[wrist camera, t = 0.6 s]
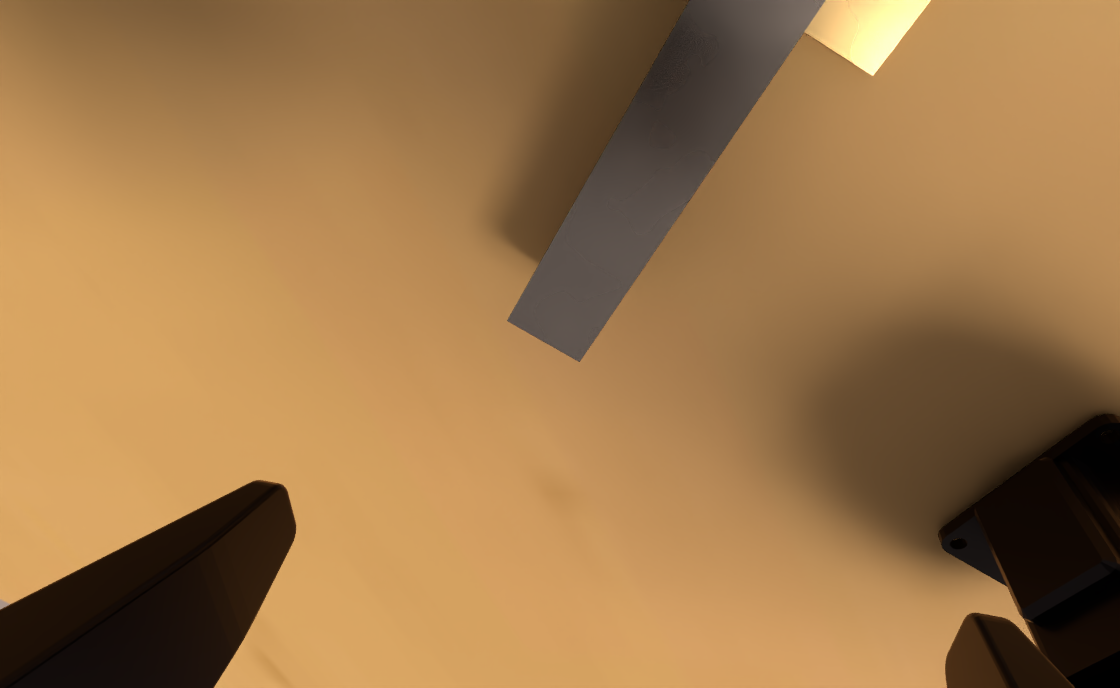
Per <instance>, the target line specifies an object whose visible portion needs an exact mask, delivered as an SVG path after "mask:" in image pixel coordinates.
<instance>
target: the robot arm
mask: <svg viewBox="0 0 1120 688" xmlns="http://www.w3.org/2000/svg"><path fill="white" fill-rule="evenodd" d="M1113 429H1114V430H1113ZM1107 430H1113V431H1112V432H1111V433H1109V434H1106V435H1101V434H1102V433H1103V432H1105V431H1107ZM295 534H296V522H295V518H294V514H293V511H292V507H291V503H290V499H289V495H288V492H287V489H286V488H285V487H284V486H283V485H282V484H279V483H274V482H268V481H263V480H256V481H253V482H251V483H248V484H246V485H245V486H243V487H241V488H239V489H237V490H235V491H233V492H231V493H229V494H227V495H225V496H223V497H221V498H219V499H217V500H215V501H213V502H211V503H209V504H207V505H205V506H203V507H201V508H199V509H197V510H195V511H193V512H191V513H189V514H187V515H185V516H184V517H182V518H180V519H178V520H176V521H174V522H172V523H170V524H168V525H166V526H164V527H162V528H160V529H158V530H156V531H154V532H152V533H150V534H148V535H146V536H144V537H142V538H140V539H138V540H136V541H134V542H132V543H130V544H128V545H126V546H124V547H123V548H121V549H119V550H117V551H115V552H113V553H111V554H109V555H107V556H105V557H103V558H101V559H99V560H97V561H95V562H93V563H91V564H89V565H87V566H85V567H83V568H81V569H79V570H77V571H75V572H73V573H71V574H69V575H67V576H65V577H63V578H61V579H60V580H58V581H56V582H54V583H52V584H50V585H48V586H46V587H44V588H42V589H40V590H38V591H36V592H34V593H32V594H30V595H28V596H26V597H24V598H22V599H20V600H18V601H16V602H14V603H12V604H10V605H8V606H7V607H4V608H3V609H1V610H0V688H214V687H215V685H216V683H217V682H218V680H219V679H220V677H221V675H222V674H223V672H224V671H225V669H226V667H227V666H228V664H229V663H230V661H231V659H232V658H233V656H234V655H235V653H236V651H237V650H238V648H239V646H240V645H241V643H242V641H243V640H244V638H245V636H246V634H247V632H248V630H249V629H250V627H251V625H252V623H253V621H254V619H255V617H256V615H257V613H258V611H259V609H260V607H261V605H262V603H263V601H264V599H265V597H266V595H267V593H268V591H269V589H270V587H271V585H272V583H273V581H274V579H275V577H276V575H277V573H278V571H279V569H280V567H281V565H282V563H283V561H284V559H285V557H286V555H287V553H288V551H289V549H290V547H291V545H292V543H293V541H294V538H295ZM938 537H939V540H940V542H941V545H942V548H943V549H944V550H945V551H946V552H948V553H949V554H951V555H953V556H955V557H956V558H958V559H960V560H962V561H963V562H965V563H967V564H969V565H970V566H972V567H974V568H976V569H977V570H979V571H981V572H983V573H984V574H986V575H988V576H990V577H991V578H993V579H995V580H997V581H998V582H1000V583H1002V584H1004V585H1005V586H1007V587H1008V589H1009V592H1010V594H1011V596H1012V598H1013V600H1014V603H1015V605H1016V607H1017V609H1018V611H1019V614H1020V615H1021V616H1022V617H1023V618H1024V620H1025V622H1026V625H1027V627H1028V629H1029V631H1030V633H1031V636H1032V638H1033V640H1034V642H1035V644H1036V646H1037V647H1036V646H1035V645H1034V644H1033V643H1032V642H1031V641H1030V640H1029V639H1028V638H1027V636H1026V635H1025V634H1024V633H1023V632H1022V631H1021V630H1020V629H1019V628H1018V627H1017V626H1016V625H1015V624H1014V623H1012V622H1011V621H1010V620H1008V619H1005V618H1002V617H996V616H991V615H986V614H980V613H971V614H969V615H967V616H966V618H965V619H964V621H963V623H962V625H961V627H960V629H959V631H958V633H957V635H956V637H955V639H954V641H953V643H952V646H951V648H950V650H949V652H948V654H947V658H946V664H945V675H946V683H947V688H1120V417H1119V416H1116V415H1114V414H1103V415H1099V416H1096V417H1094V418H1092V419H1090V420H1089V421H1087V422H1086V423H1085V424H1083V425H1082V426H1081V427H1079V428H1078V429H1076V430H1075V431H1074V432H1072V433H1071V434H1070V435H1068V436H1067V437H1066V438H1064V439H1063V440H1061V441H1060V442H1059V443H1057V444H1056V445H1055V446H1053V447H1052V448H1051V449H1049V450H1048V451H1046V452H1045V453H1044V454H1042V455H1041V456H1040V457H1038V458H1037V459H1035V460H1034V461H1033V462H1031V463H1030V464H1029V465H1027V466H1026V467H1025V468H1023V469H1022V470H1020V471H1019V472H1018V473H1016V474H1015V475H1014V476H1012V477H1011V478H1010V479H1008V480H1007V481H1005V482H1004V483H1003V484H1001V485H1000V486H999V487H997V488H996V489H995V490H993V491H992V492H990V493H989V494H988V495H986V496H985V497H984V498H982V499H981V500H980V501H978V502H977V503H975V504H974V505H973V506H971V507H970V508H969V509H967V510H966V511H965V512H963V513H962V514H960V515H959V516H958V517H956V518H955V519H954V520H952V521H951V522H949V523H948V524H947V525H945V526H944V527H943V528H942V529H941V530H940V531H939V534H938ZM956 538H961V539H958V540H953V539H956Z"/></svg>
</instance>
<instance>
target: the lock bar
mask: <svg viewBox="0 0 1120 688" xmlns="http://www.w3.org/2000/svg"><path fill="white" fill-rule="evenodd" d="M825 1H826V0H689V2H688V4H687V5H686V7H685V9H684V11H683V12H682V14H681V16H680V18H679V19H678V21H677V23H676V25H675V26H674V28H673V30H672V32H671V33H670V35H669V37H668V39H667V41H666V42H665V44H664V46H663V48H662V49H661V51H660V53H659V55H658V56H657V58H656V60H655V62H654V63H653V65H652V67H651V69H650V70H649V72H648V74H647V76H646V77H645V79H644V81H643V83H642V84H641V86H640V88H639V90H638V91H637V93H636V95H635V97H634V98H633V100H632V102H631V104H630V106H629V107H628V109H627V111H626V113H625V114H624V116H623V118H622V120H621V121H620V123H619V125H618V127H617V128H616V130H615V132H614V134H613V135H612V137H611V139H610V141H609V142H608V144H607V146H606V148H605V149H604V151H603V153H602V155H601V156H600V158H599V160H598V162H597V163H596V165H595V167H594V169H593V171H592V172H591V174H590V176H589V178H588V179H587V181H586V183H585V185H584V186H583V188H582V190H581V192H580V193H579V195H578V197H577V199H576V200H575V202H574V204H573V206H572V207H571V209H570V211H569V213H568V214H567V216H566V218H565V220H564V221H563V223H562V225H561V227H560V228H559V230H558V232H557V234H556V236H555V237H554V239H553V241H552V243H551V244H550V246H549V248H548V250H547V251H546V253H545V255H544V257H543V258H542V260H541V262H540V264H539V265H538V267H537V269H536V271H535V272H534V274H533V276H532V278H531V279H530V281H529V283H528V285H527V286H526V288H525V290H524V292H523V294H522V295H521V297H520V299H519V301H518V302H517V304H516V306H515V308H514V309H513V311H512V313H511V315H510V316H509V318H508V320H507V321H508V322H510V323H512V324H513V325H515V326H517V327H519V328H520V329H522V330H524V331H526V332H528V333H529V334H531V335H533V336H535V337H536V338H538V339H540V340H542V341H543V342H545V343H547V344H549V345H550V346H552V347H554V348H556V349H557V350H559V351H561V352H563V353H565V354H566V355H568V356H570V357H572V358H573V359H575V360H577V361H579V362H580V361H581V359H582V358H583V356H584V355H585V353H586V352H587V350H588V349H589V347H590V346H591V344H592V343H593V341H594V340H595V338H596V337H597V336H598V334H599V333H600V331H601V330H602V328H603V327H604V325H605V324H606V322H607V321H608V319H609V318H610V316H611V315H612V314H613V312H614V311H615V309H616V308H617V306H618V305H619V303H620V302H621V300H622V299H623V297H624V296H625V294H626V293H627V291H628V290H629V289H630V287H631V286H632V284H633V283H634V281H635V280H636V278H637V277H638V275H639V274H640V272H641V271H642V269H643V268H644V267H645V265H646V264H647V262H648V261H649V259H650V258H651V256H652V255H653V253H654V252H655V250H656V249H657V247H658V246H659V244H660V243H661V242H662V240H663V239H664V237H665V236H666V234H667V233H668V231H669V230H670V228H671V227H672V225H673V224H674V222H675V221H676V220H677V218H678V217H679V215H680V214H681V212H682V211H683V209H684V208H685V206H686V205H687V203H688V202H689V200H690V199H691V197H692V196H693V195H694V193H695V192H696V190H697V189H698V187H699V186H700V184H701V183H702V181H703V180H704V178H705V177H706V175H707V174H708V173H709V171H710V170H711V168H712V167H713V165H714V164H715V162H716V161H717V159H718V158H719V156H720V155H721V153H722V152H723V150H724V149H725V148H726V146H727V145H728V143H729V142H730V140H731V139H732V137H733V136H734V134H735V133H736V131H737V130H738V128H739V127H740V125H741V124H742V123H743V121H744V120H745V118H746V117H747V115H748V114H749V112H750V111H751V109H752V108H753V106H754V105H755V103H756V102H757V101H758V99H759V98H760V96H761V95H762V93H763V92H764V90H765V89H766V87H767V86H768V84H769V83H770V81H771V80H772V78H773V77H774V76H775V74H776V73H777V71H778V70H779V68H780V67H781V65H782V64H783V62H784V61H785V59H786V58H787V56H788V55H789V54H790V52H791V51H792V49H793V48H794V46H795V45H796V43H797V42H798V40H799V39H800V37H801V36H802V34H803V33H804V31H805V30H806V29H807V27H808V26H809V24H810V23H811V21H812V20H813V18H814V17H815V15H816V14H817V12H818V11H819V9H820V8H821V7H822V5H823V4H824V2H825Z"/></svg>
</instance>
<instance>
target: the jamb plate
mask: <svg viewBox="0 0 1120 688" xmlns="http://www.w3.org/2000/svg"><path fill="white" fill-rule="evenodd" d="M930 1H931V0H826V1H825V2H824V4H823V5H822V7H821V8H820V9H819V11H818V12H817V14H816V15H815V17H814V18H813V20H812V21H811V23H810V24H809V26H808V27H807V29H806V30H805V31H804V32H805V33H807V34H808V35H810V36H811V37H813V38H814V39H816V40H817V41H819V42H821V43H822V44H824V45H825V46H827V47H828V48H830V49H832V50H833V51H835V52H836V53H838V54H839V55H841V56H842V57H844V58H846V59H847V60H849V61H850V62H852V63H853V64H855V65H857V66H858V67H860V68H861V69H863V70H864V71H866V72H867V73H869V74H871V75H872V76H873V75H874V74H875V72H876V71H877V70H878V68H879V67H880V66H881V64H882V63H883V62H884V61H885V59H886V58H887V57H888V55H889V54H890V53H891V51H892V50H893V49H894V48H895V46H896V45H897V44H898V42H899V41H900V40H901V38H902V37H903V36H904V34H905V33H906V32H907V31H908V29H909V28H910V27H911V25H912V24H913V23H914V21H915V20H916V19H917V17H918V16H919V15H920V14H921V12H922V11H923V10H924V8H925V7H926V6H927V4H928V3H929V2H930Z"/></svg>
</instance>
